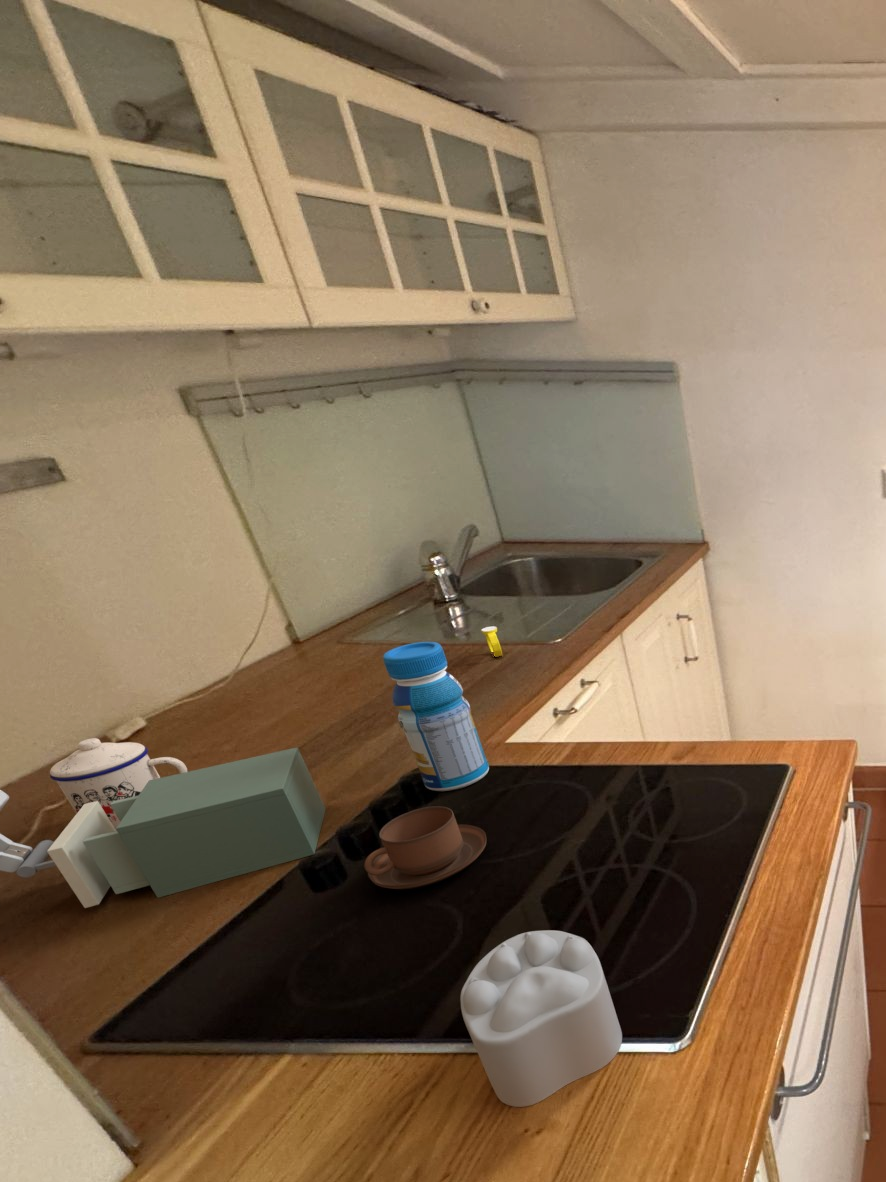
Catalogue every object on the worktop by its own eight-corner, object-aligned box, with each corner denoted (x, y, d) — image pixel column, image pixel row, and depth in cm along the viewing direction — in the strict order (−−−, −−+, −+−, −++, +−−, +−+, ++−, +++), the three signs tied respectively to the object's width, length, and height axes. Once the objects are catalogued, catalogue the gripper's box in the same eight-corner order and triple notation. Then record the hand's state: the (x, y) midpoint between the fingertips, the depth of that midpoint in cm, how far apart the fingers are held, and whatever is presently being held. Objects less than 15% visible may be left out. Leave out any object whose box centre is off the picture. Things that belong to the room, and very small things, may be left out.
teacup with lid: (72, 843, 99) (22, 765, 94) (98, 810, 106) (53, 736, 101) (194, 814, 104) (152, 739, 99) (211, 785, 112) (173, 714, 107)
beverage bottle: (472, 792, 107) (425, 659, 99) (411, 795, 107) (358, 663, 99) (502, 762, 115) (460, 637, 106) (444, 765, 115) (398, 640, 106)
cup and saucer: (438, 903, 85) (420, 858, 83) (347, 894, 87) (326, 850, 85) (512, 840, 96) (498, 798, 93) (429, 834, 98) (413, 793, 96)
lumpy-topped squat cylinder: (501, 1122, 61) (467, 1044, 57) (472, 1022, 70) (442, 949, 66) (634, 1050, 66) (611, 975, 63) (591, 967, 76) (569, 897, 72)
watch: (486, 653, 158) (478, 626, 155) (501, 650, 159) (493, 623, 157) (492, 661, 154) (483, 633, 151) (508, 658, 155) (499, 630, 153)
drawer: (31, 923, 83) (-10, 864, 80) (70, 869, 92) (34, 815, 89) (240, 865, 92) (210, 811, 88) (257, 821, 101) (230, 770, 97)
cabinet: (157, 898, 88) (115, 828, 84) (185, 844, 98) (148, 780, 94) (314, 854, 95) (282, 788, 91) (326, 808, 105) (297, 747, 101)
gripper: (-218, 838, 69) (0, 886, 77) (-95, 749, 85) (75, 797, 93) (-261, 896, 69) (-38, 937, 77) (-129, 796, 84) (44, 840, 93)
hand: (24, 860), depth 85 cm, fingers closed, pressing on drawer
